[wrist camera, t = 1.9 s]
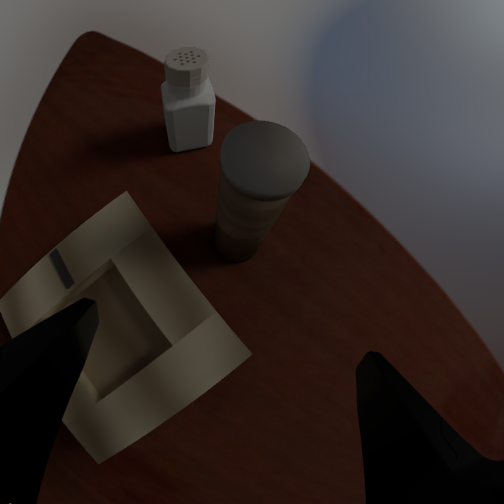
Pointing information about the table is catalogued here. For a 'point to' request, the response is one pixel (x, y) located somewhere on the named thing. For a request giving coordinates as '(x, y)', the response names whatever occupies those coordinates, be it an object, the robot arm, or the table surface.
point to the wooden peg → (255, 185)
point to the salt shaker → (188, 99)
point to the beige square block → (127, 327)
